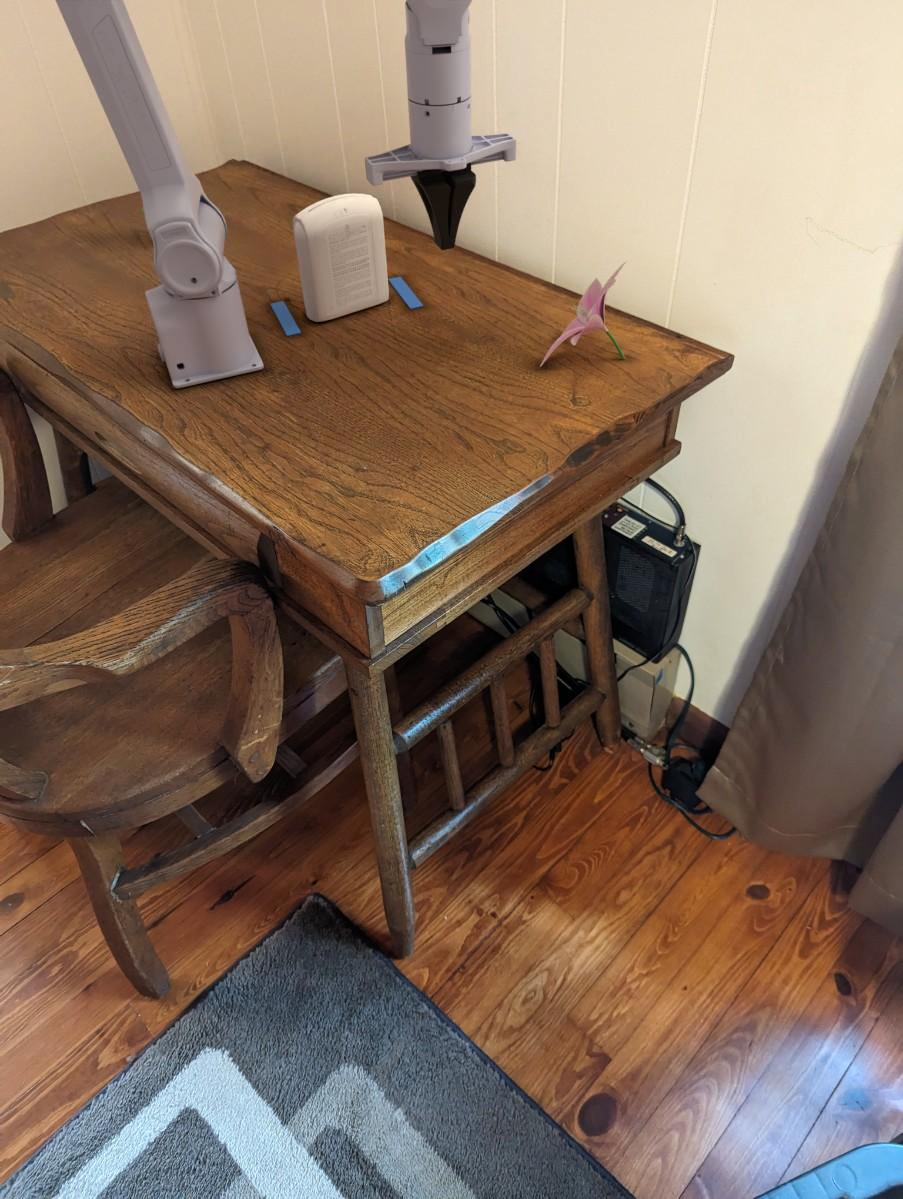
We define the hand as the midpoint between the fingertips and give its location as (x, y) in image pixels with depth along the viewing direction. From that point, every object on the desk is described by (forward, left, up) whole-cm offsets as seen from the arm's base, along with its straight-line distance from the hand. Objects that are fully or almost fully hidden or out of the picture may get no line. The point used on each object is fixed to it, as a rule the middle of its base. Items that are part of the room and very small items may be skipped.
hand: (444, 245), depth 88 cm
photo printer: (-8, +12, -11) cm, 18 cm away
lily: (+12, -9, -11) cm, 18 cm away
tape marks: (-8, +12, -10) cm, 18 cm away
